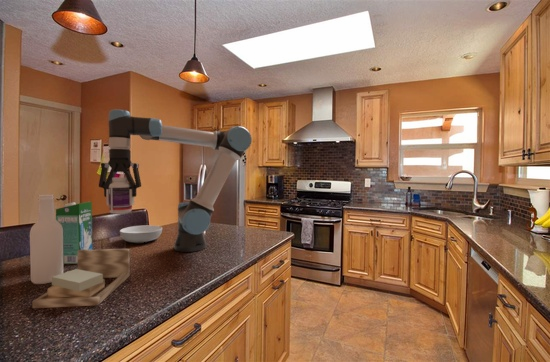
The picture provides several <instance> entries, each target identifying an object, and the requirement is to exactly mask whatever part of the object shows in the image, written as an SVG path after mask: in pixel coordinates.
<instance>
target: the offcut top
mask: <svg viewBox="0 0 550 362" xmlns="http://www.w3.org/2000/svg"><path fill="white" fill-rule="evenodd" d="M103 279H104V278H103V274H100V273H95V272H90V271H84V270H79V269H78V268H75V269H72V270H69V271H66V272H63V273H62V274H59V275H56V276H53V277H52V282H51V286H58V287H62V288H66V289H70V290H75V291H79V292H80V291H82V290H85V289H87V288H90V287H92V286H95V285H97V284H100V283H102V282H103Z"/></svg>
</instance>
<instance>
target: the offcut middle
mask: <svg viewBox="0 0 550 362" xmlns="http://www.w3.org/2000/svg"><path fill="white" fill-rule="evenodd" d="M105 279H106V278H103V282H102V283H100V284H97V285H95V286H92V287H90V288H87V289H85V290H82V291H80V292H79V291H75V290H70V289H66V288H62V287H58V286H53V285H51V286H50V287H48V288H47V292H48V297H91V296H92V295H94V294H95V293H96V292H98V291H99V290H101V289H102V288H104V289H105V288H106V287H105V286H106V285H105V284H106V283H105V281H106V280H105Z"/></svg>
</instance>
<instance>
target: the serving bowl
mask: <svg viewBox="0 0 550 362" xmlns="http://www.w3.org/2000/svg"><path fill="white" fill-rule="evenodd" d="M162 232H163V227H162V226H161V225H151V224H149V225H146V224H145V225H133V226H128V227H124V228H121V229H119V235H120V237H121V238H122V239H123V240H124V241H125V242H128V243H134V244H144V242H145V243H148V242H151V241H155V240H156V239H158V238H159V237H160V236H161V234H162Z"/></svg>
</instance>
